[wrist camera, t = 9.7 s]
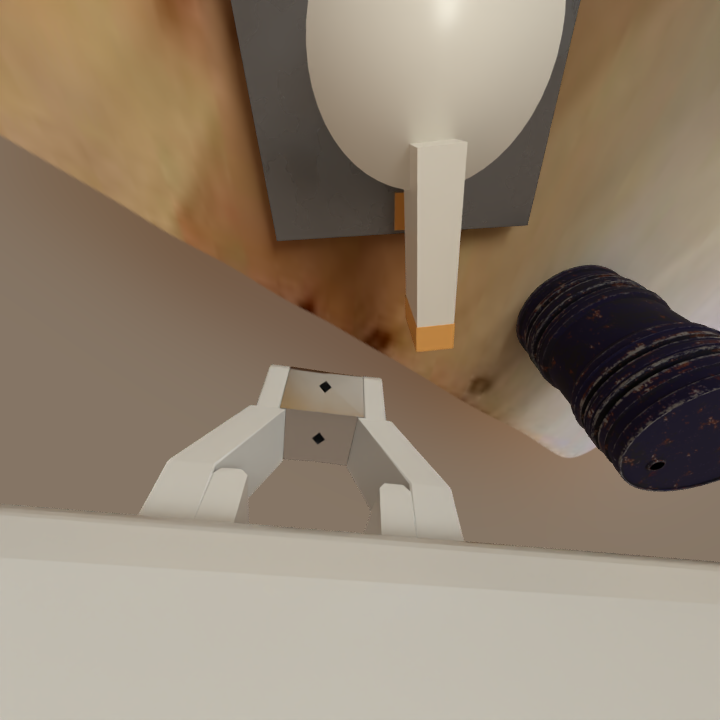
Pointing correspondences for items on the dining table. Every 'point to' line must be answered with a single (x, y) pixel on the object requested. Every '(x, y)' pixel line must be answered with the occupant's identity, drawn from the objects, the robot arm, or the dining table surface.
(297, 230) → the plate
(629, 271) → the dining table surface
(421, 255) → the white handled oval piece
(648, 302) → the dark blue ribbed cylinder
